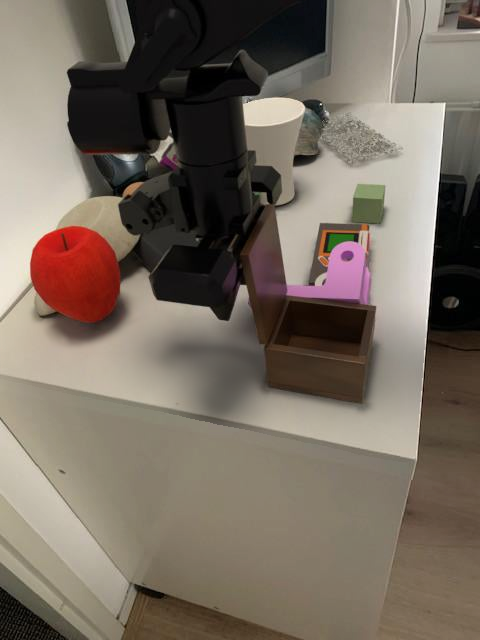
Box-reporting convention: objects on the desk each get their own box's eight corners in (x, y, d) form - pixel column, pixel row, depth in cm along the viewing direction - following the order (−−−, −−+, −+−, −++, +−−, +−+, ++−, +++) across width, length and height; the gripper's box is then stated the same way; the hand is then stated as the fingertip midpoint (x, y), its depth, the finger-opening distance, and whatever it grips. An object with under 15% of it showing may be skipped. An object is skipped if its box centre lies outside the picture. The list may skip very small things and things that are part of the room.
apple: (41, 340, 61) (-3, 259, 52) (73, 289, 68) (39, 209, 59) (117, 343, 59) (84, 259, 50) (142, 290, 66) (117, 208, 57)
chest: (372, 345, 54) (376, 305, 50) (362, 403, 49) (365, 364, 45) (286, 333, 57) (284, 294, 53) (267, 386, 52) (263, 348, 48)
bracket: (365, 322, 55) (372, 268, 58) (358, 299, 50) (366, 241, 53) (256, 317, 60) (267, 267, 63) (240, 295, 55) (253, 242, 58)
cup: (320, 190, 80) (320, 104, 71) (278, 220, 75) (272, 131, 65) (271, 174, 86) (265, 93, 76) (228, 201, 80) (216, 117, 71)
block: (356, 207, 75) (357, 183, 72) (383, 209, 74) (385, 184, 71) (351, 221, 72) (353, 197, 70) (380, 224, 71) (382, 198, 68)
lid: (274, 203, 46) (226, 204, 48) (248, 254, 40) (195, 252, 42) (287, 291, 53) (245, 288, 54) (266, 345, 47) (220, 340, 49)
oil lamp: (-15, 289, 65) (12, 312, 69) (53, 301, 57) (79, 326, 61) (74, 181, 74) (94, 206, 78) (144, 178, 66) (162, 207, 70)
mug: (309, 103, 91) (299, 159, 96) (247, 98, 86) (239, 157, 92) (337, 114, 84) (324, 174, 89) (270, 109, 79) (260, 172, 84)
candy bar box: (177, 135, 74) (138, 106, 85) (158, 163, 75) (122, 131, 86) (227, 173, 82) (185, 143, 93) (209, 199, 83) (169, 165, 94)
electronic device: (305, 293, 58) (320, 219, 68) (306, 311, 60) (320, 236, 70) (365, 297, 56) (371, 220, 66) (363, 315, 58) (369, 238, 68)
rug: (351, 166, 84) (352, 161, 84) (304, 127, 98) (304, 122, 98) (403, 151, 86) (404, 146, 85) (349, 115, 100) (349, 110, 99)
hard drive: (191, 207, 80) (187, 184, 77) (262, 260, 68) (260, 234, 65) (118, 239, 76) (110, 216, 73) (179, 302, 63) (172, 276, 60)
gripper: (167, 105, 48) (195, 240, 59) (62, 203, 36) (121, 352, 46) (278, 106, 45) (286, 248, 56) (206, 214, 32) (233, 372, 43)
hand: (234, 299), depth 50 cm, fingers open, 6 cm apart
